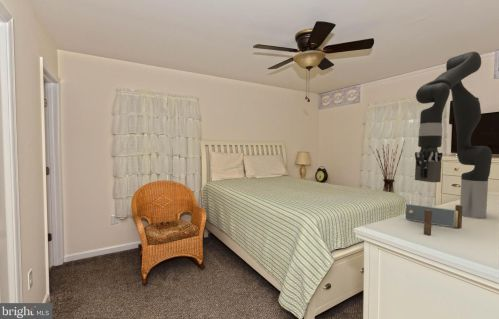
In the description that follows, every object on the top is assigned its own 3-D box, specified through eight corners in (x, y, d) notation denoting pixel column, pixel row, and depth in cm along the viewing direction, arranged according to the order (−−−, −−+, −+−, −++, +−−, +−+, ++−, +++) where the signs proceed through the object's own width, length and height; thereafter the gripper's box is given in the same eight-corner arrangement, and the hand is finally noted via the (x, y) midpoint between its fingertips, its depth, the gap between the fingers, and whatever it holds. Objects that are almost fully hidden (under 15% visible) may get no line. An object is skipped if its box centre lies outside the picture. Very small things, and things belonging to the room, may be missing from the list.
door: (457, 226, 97) (458, 210, 96) (457, 228, 95) (458, 212, 94) (406, 218, 108) (406, 203, 108) (405, 219, 106) (405, 204, 106)
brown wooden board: (456, 226, 98) (457, 204, 98) (461, 227, 97) (462, 205, 96) (423, 234, 90) (424, 210, 89) (428, 235, 88) (429, 211, 88)
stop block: (421, 179, 101) (422, 160, 101) (440, 182, 94) (441, 161, 94) (414, 180, 99) (415, 160, 99) (433, 182, 93) (434, 161, 92)
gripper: (428, 133, 90) (426, 179, 91) (451, 135, 95) (449, 178, 96) (408, 134, 97) (406, 177, 97) (431, 136, 102) (428, 176, 103)
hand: (427, 177), depth 97 cm, fingers closed on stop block, 4 cm apart
